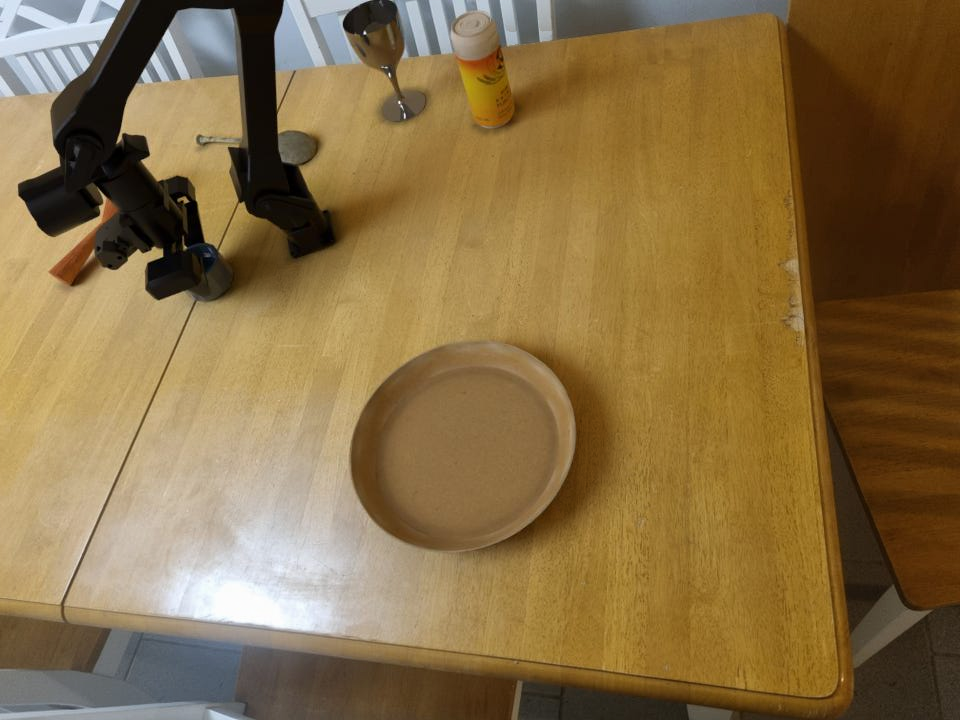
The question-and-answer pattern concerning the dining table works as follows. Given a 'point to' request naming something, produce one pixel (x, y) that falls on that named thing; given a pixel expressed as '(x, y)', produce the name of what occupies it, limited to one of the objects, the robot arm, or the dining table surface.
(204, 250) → the bowl
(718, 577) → the dining table surface
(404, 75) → the dining table surface
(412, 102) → the wine glass
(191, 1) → the robot arm
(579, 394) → the dining table surface
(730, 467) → the dining table surface
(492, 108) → the beer can
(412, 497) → the plant saucer
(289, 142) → the soupspoon
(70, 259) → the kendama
